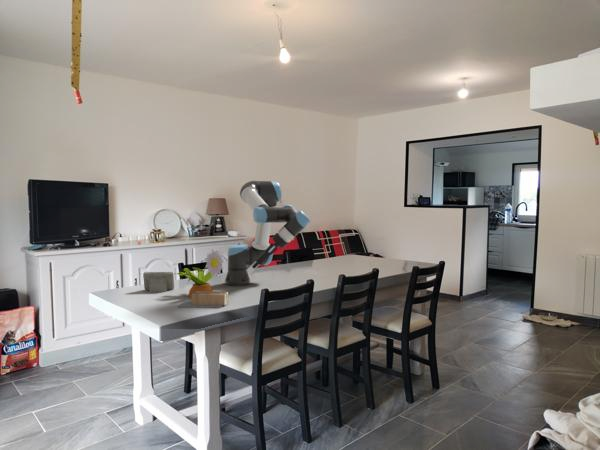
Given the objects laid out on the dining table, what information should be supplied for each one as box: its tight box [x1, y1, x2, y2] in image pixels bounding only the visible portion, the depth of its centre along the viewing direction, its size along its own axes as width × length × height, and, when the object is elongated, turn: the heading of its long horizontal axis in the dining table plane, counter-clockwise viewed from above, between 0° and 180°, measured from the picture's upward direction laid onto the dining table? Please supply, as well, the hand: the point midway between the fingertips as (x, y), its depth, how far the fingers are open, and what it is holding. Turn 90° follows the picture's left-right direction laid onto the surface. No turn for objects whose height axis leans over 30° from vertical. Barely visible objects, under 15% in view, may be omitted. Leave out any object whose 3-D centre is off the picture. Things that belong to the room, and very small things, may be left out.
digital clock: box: [142, 271, 175, 293], centre depth 236 cm, size 16×9×11 cm, turn 88°
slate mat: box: [177, 299, 224, 309], centre depth 207 cm, size 13×20×1 cm, turn 89°
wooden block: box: [191, 291, 229, 306], centre depth 208 cm, size 7×5×16 cm
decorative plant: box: [173, 249, 224, 298], centre depth 227 cm, size 27×24×25 cm
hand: (248, 271), depth 207 cm, fingers closed
